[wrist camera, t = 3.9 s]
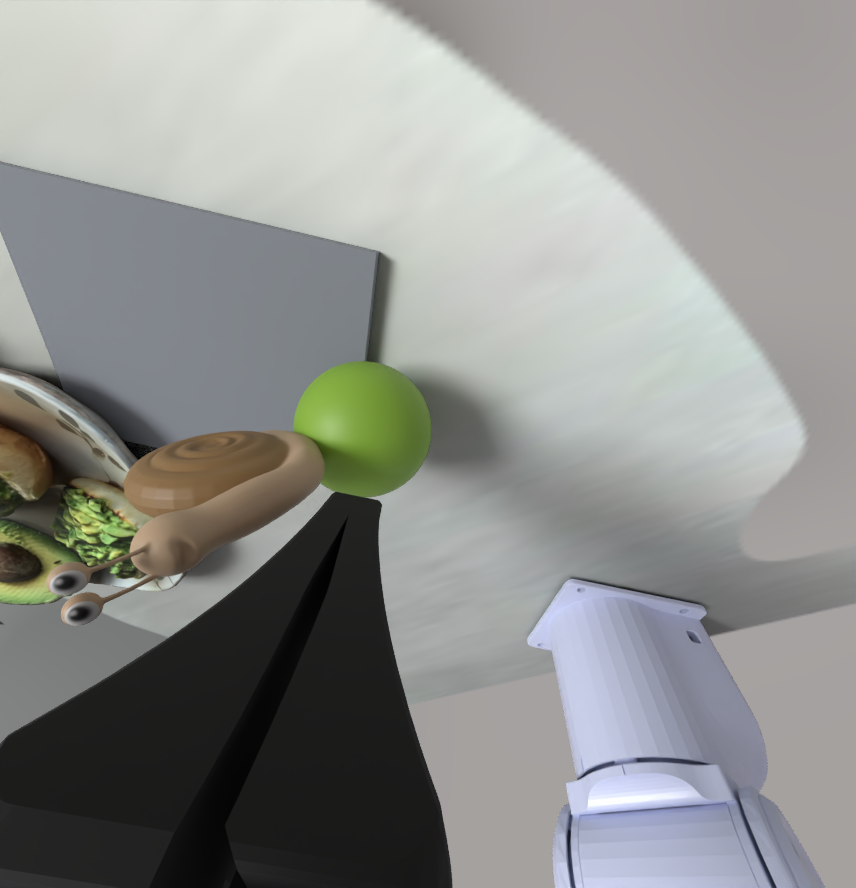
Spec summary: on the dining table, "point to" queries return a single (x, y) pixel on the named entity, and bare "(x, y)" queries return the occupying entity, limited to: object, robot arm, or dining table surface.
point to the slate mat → (181, 306)
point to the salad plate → (62, 493)
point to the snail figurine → (263, 475)
